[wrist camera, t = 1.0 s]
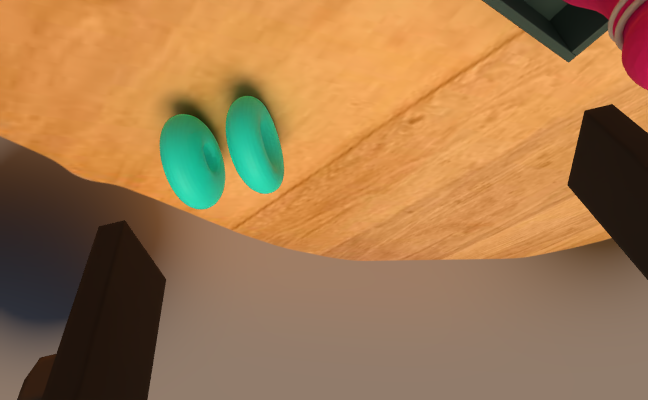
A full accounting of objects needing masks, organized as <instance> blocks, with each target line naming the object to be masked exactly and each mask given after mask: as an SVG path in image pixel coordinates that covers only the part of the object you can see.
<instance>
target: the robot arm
mask: <svg viewBox="0 0 648 400" xmlns="http://www.w3.org/2000/svg"><path fill="white" fill-rule="evenodd" d="M568 186H569V188H570V189H571V190H572V191H573V192H574V193H575V195H576V196H577V197H578V198H579V199H580V201H581V202H582V203H583V204H584V205H585V206H586V208H587V209H588V210H589V211H590V212H591V214H592V215H593V216H594V217H595V218H596V219H597V221H598V222H599V223H600V224H601V225H602V227H603V228H604V229H605V230H606V231H607V232H608V234H609V235H610V236H611V237H612V238H613V239H614V241H615V242H616V243H617V244H618V245H619V247H620V248H621V249H622V250H623V251H624V252H625V254H626V255H627V256H628V257H629V258H630V260H631V261H632V262H633V263H634V264H635V265H636V267H637V268H638V269H639V270H640V271H641V272H642V274H643V275H644V276H645V277H646V278H647V280H648V133H647V132H646V131H644V130H643V129H642V128H641V127H640V126H638V125H637V124H636V123H635V122H633V121H632V120H631V119H630V118H629V117H627V116H626V115H625V114H624V113H622V112H621V111H620V110H619V109H618V108H616V107H615V106H614V105H613V104H611V105H607V106H602V107H598V108H594V109H590V110H586V111H585V112H584V116H583V120H582V125H581V129H580V133H579V137H578V142H577V146H576V150H575V155H574V159H573V163H572V168H571V172H570V176H569V181H568ZM165 283H166V279H165V277H164V276H163V274H162V273H161V271H160V270H159V268H158V267H157V266H156V264H155V263H154V261H153V260H152V258H151V257H150V256H149V254H148V253H147V251H146V250H145V248H144V247H143V246H142V244H141V243H140V241H139V240H138V238H137V237H136V236H135V234H134V233H133V231H132V230H131V228H130V227H129V226H128V224H127V223H126V221H120V222H116V223H112V224H108V225H104V226H99V228H98V231H97V234H96V237H95V240H94V243H93V246H92V249H91V252H90V255H89V258H88V261H87V264H86V267H85V270H84V273H83V276H82V279H81V282H80V285H79V288H78V291H77V294H76V297H75V300H74V303H73V306H72V309H71V312H70V315H69V318H68V321H67V324H66V327H65V330H64V333H63V336H62V339H61V342H60V345H59V348H58V351H57V354H54V355H49V356H45V357H41V358H40V359H39V360H38V362H37V363H36V365H35V366H34V367H33V369H32V370H31V371H30V373H29V374H28V376H27V377H26V379H25V380H24V383H23V385H22V388H21V390H20V393H19V396H18V399H17V400H147V398H148V391H149V386H150V379H151V373H152V366H153V359H154V354H155V346H156V341H157V334H158V327H159V321H160V314H161V308H162V302H163V296H164V289H165Z"/></svg>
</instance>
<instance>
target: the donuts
mask: <svg viewBox="0 0 648 400" xmlns="http://www.w3.org/2000/svg"><path fill="white" fill-rule="evenodd" d="M226 138H227V144H228V148H229V152H230V155H231V158H232V161H233V163H234V166H235V168H236V170H237V172H238V174H239V175H240V177H241V178H242V180H243V181H244V182H245V183H246V184H247V185H248V186H249V187H250V188H251V189H253V190H254V191H256V192H259V193H263V194H268V193H272V192H274V191H276V190H277V189H278V188H279V187H280V185H281V183H282V181H283V176H284V162H283V154H282V149H281V145H280V141H279V137H278V134H277V131H276V128H275V125H274V122H273V120H272V118H271V116H270V114H269V112H268V110H267V109H266V107H265V106H264V104H263V103H262V102H261V101H260V100H258V99H257V98H255V97H252V96H242V97H240V98H238V99H236V100H235V101H234V102H233V103H232V105H231V106H230V108H229V111H228V113H227V118H226ZM160 155H161V161H162V165H163V169H164V172H165V175H166V177H167V180H168V182H169V184H170V186H171V188H172V189H173V191H174V192H175V194H176V195H177V196H178V197H179V199H180V200H181V201H182V202H184V203H185V204H186V205H188V206H190V207H192V208H195V209H207V208H209V207H211V206H213V205H214V204H216V203H217V201H218V200H219V199H220V197H221V195H222V193H223V190H224V185H225V167H224V161H223V157H222V154H221V151H220V148H219V145H218V143H217V141H216V139H215V137H214V135H213V134H212V132H211V131H210V129H209V128H208V127H207V126H206V125H205V124H204V123H203V122H202V121H201V120H199V119H198V118H196V117H194V116H192V115H188V114H178V115H175V116H173V117H171V118H170V119H169V120H168V121H167V122H166V123H165V125H164V127H163V129H162V132H161V136H160Z"/></svg>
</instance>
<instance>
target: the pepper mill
mask: <svg viewBox="0 0 648 400" xmlns="http://www.w3.org/2000/svg"><path fill="white" fill-rule="evenodd" d="M563 1H565V2H567V3H569V4H571V5H573V6H577V7H582V8H586V9H590V10H594V11H597V12H599V13H601V14H603V15H604V16H605V17H606V18H607V19H608V20H609V22H608V33H609V36H610V38H611V39H612V40H613V41H614V42H615V43H616V45H617V47H618V48H619V49H621V50H622V63H623V66H624V68H625V70H626V72H627V74H628V76H629V77H630V78H631V79H632V80H633V81H634V82H635V83H636V84H638V85H639V86H641V87H643V88H644V89H647V90H648V0H563Z"/></svg>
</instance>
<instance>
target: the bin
mask: <svg viewBox="0 0 648 400" xmlns="http://www.w3.org/2000/svg"><path fill="white" fill-rule="evenodd" d="M482 1H484V2H485V3H487V4H488V5H489V6H491V7H492V8H493V9H495V10H496V11H498V12H499V13H500V14H502V15H503V16H505V17H506V18H507V19H509V20H510V21H512V22H513V23H514V24H516V25H517V26H518V27H520V28H521V29H523V30H524V31H525V32H527V33H528V34H530V35H531V36H532V37H534V38H535V39H537V40H538V41H539V42H541V43H542V44H543V45H545V46H546V47H548V48H549V49H550V50H552V51H553V52H555V53H556V54H557V55H559V56H560V57H562V58H563V59H564V60H566V61H567V62H570V61H571V60H572V59H574V58H575V57H576V56H577V55H578V54H580V53H581V52H582V51H583V50H584V49H586V48H587V47H588V46H589V45H591V44H592V43H593V42H594V41H595V40H597V39H598V38H599V37H600V36H601V35H603V34H604V33H605V32H606V31H607V30H608V22H609V20H608V19H607V18H606V17H605V16H604V15H603V14H601V13H599V12H597V11H594V10H590V9H586V8H582V7H577V6H573V5H571V4H569V3H567V2H565V1H563V0H482Z"/></svg>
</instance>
